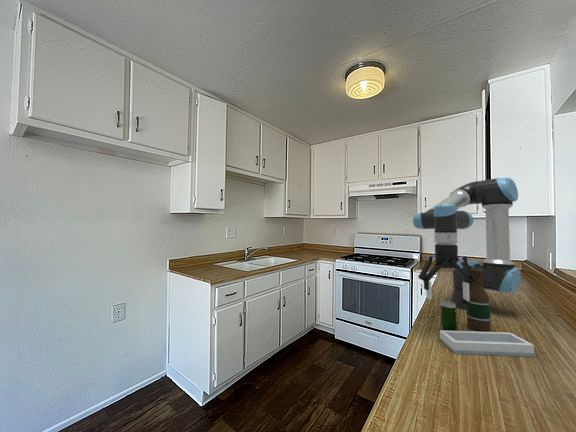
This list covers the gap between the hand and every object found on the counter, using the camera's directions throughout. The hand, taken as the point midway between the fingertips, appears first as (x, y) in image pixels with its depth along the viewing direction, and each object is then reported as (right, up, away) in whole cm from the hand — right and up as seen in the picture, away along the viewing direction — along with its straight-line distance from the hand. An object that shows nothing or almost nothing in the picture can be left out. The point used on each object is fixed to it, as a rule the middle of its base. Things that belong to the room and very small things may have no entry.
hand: (447, 299), depth 96 cm
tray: (+5, -13, -11) cm, 18 cm away
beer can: (0, -14, 0) cm, 14 cm away
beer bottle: (+16, -14, +5) cm, 22 cm away
